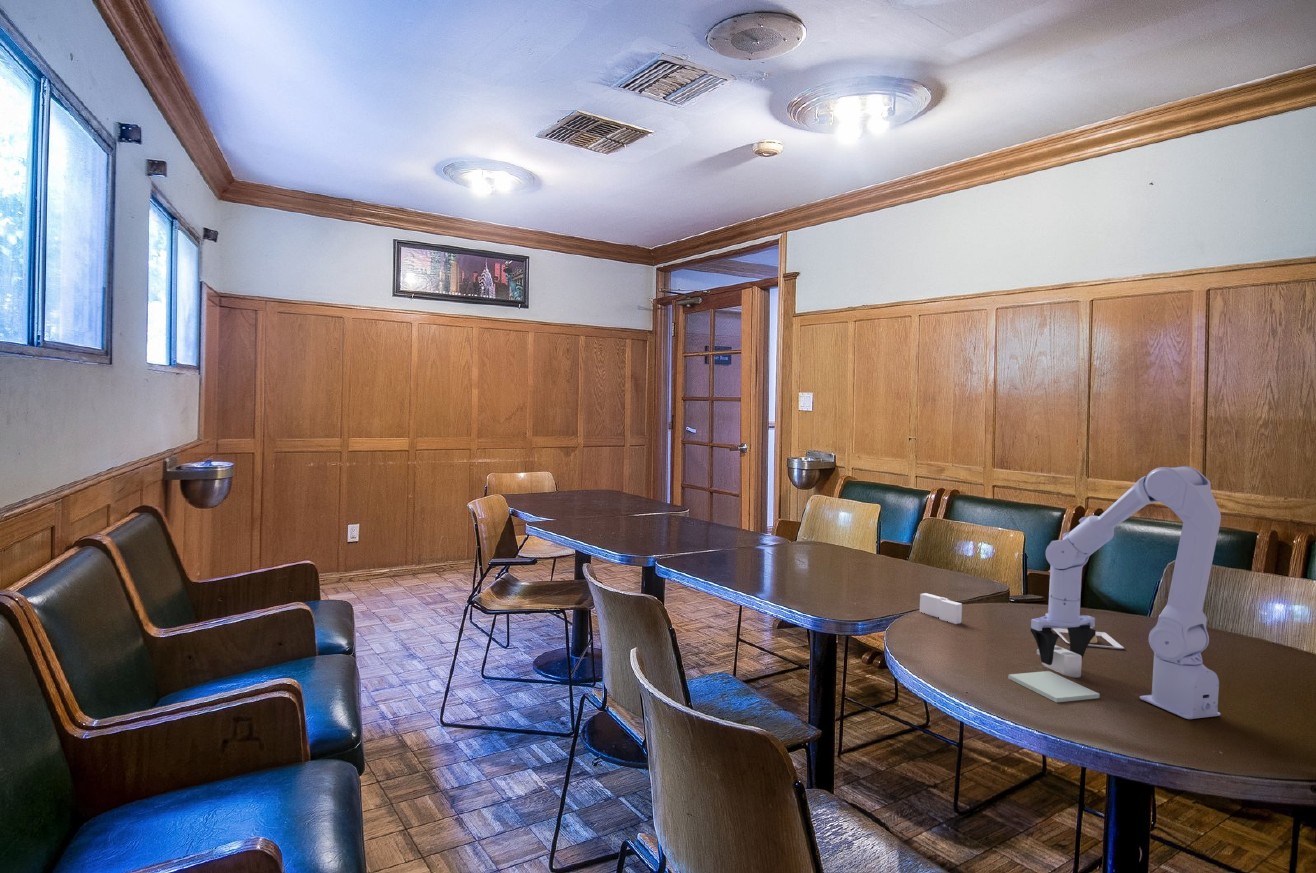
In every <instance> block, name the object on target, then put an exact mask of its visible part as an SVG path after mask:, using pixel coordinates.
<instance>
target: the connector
mask: <svg viewBox="0 0 1316 873" xmlns="http://www.w3.org/2000/svg"><path fill="white" fill-rule="evenodd" d="M1036 655H1037V656H1040V652H1039V649H1038V648H1037V649H1036ZM1082 660H1083V658H1082V656H1081V655H1079V654H1076V653H1074V652H1071V651H1070V649H1067V648H1064V647H1061V646H1059V645H1056V644H1055V648H1054V654H1053V662H1052V665H1047V664H1045V663H1043V662H1041V665H1042V666H1043V667H1045V668H1047V669H1050V670H1052V671H1054V672H1056V673H1057V674H1058V673H1059V674H1061V675H1063V676H1066V677H1068V678H1069V677H1070V678H1081V677H1082V664H1083V663H1082Z"/></svg>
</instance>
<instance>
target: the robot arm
mask: <svg viewBox="0 0 1316 873" xmlns="http://www.w3.org/2000/svg"><path fill="white" fill-rule="evenodd" d="M1211 483H1212V482H1211V481H1210V480H1209V479H1208V478H1207V477H1206V476H1205V475H1204V474H1202V473H1201V472H1200V471H1199V470H1198V469H1196V468H1194V467H1191V466H1185V465H1184V466H1183V465H1182V466H1177V467H1167V466H1165V467H1164V466H1162V467H1156V468H1155V469H1152V470H1150V472H1149V473H1148V474H1147V476H1146V475H1145V476H1143V477H1141V478H1140V479H1138V480H1137V481H1136V482H1134V485H1132V486H1131V487H1130V488H1129V489H1128V490H1126V492H1125V493H1123V494H1122V495H1121V496H1120V497H1119V498H1118V499H1117V500H1116V501H1115V502H1114V503H1112V504H1111V505H1110V506H1109V507H1108V508H1107V509H1106V510H1105V511H1104V512H1103V513H1101V514H1100V515H1099V516H1098V515H1089V516H1083V517H1081V518H1080V519H1079V520H1078V522H1079V524H1078V525H1076V526H1075V527H1074V528H1073V529H1072V530H1070V531H1069V532H1064V533H1063V534H1062V535H1061V536H1062V540H1061V539H1060V540H1059V539H1057V540H1051V541H1050V543H1049V544H1048V545H1047V546H1046V549H1045V558H1046V560H1047V561H1046V562H1048V564H1049V565H1050V569H1049V570H1050V571H1049V572H1050V573H1049V585H1048V586H1049V587H1048V588H1049V591H1048V609H1047V612H1046V613H1045V615H1043V616H1041V617H1037V618H1031V621H1030V622H1031V623H1030V624H1031V625H1030V632H1031V634H1032V635H1033V637H1034V640H1035V642H1036V645H1037V647H1038V648H1037V649H1039V652H1040V655H1039V656H1040V661H1041V663H1042V662H1043V663H1045V664H1047V665H1052V662H1053V654H1054V648H1055V645H1056V644H1057V641H1058V640H1059V637H1060V636H1059V635H1058V634H1057V633H1056V632H1055V633H1054V632H1053V631H1054V630H1053V629H1056V628H1061V629H1068V633H1067V634H1068V637H1069V643H1070V644H1069V651H1071V652H1074V653H1076V654H1079V655H1081V656H1082V659H1083V658H1084V655H1085V652H1086V651H1087V647H1089V646H1088V644H1090V643H1089V642H1090V641H1091V639H1092V638H1093V637H1094V636H1095V635H1096V632H1097V630H1096V629H1095V627H1096V626H1095V625H1096V618H1095V617H1093V616H1091V615H1081V614H1080V613H1081V594H1082V593H1081V592H1082V579H1083V578H1082V576H1083V567H1084V566H1085V565H1086V564H1087V563H1088V561H1089V558H1090V556H1091V555H1093V554H1094V553H1095V552H1097V550H1099V549H1100V548H1101V547H1103V546H1104V545H1105V544H1107V543H1108V542H1110V541H1111V540H1112V539H1113V538H1114V536H1115V528H1116V527H1117V526H1119V525H1121V524H1122V523H1123V522H1124V521H1126V520H1127V519H1129V518H1131V517H1132V516H1133V515H1134V514H1136V513H1137V512H1139V511H1140V510H1141V509H1143V508H1144V507H1145V506H1147V505H1150V504H1154V503H1155V504H1156V503H1160V504H1162V505H1163V506H1166V507H1167V508H1168V509H1170V510H1172V512H1173V513H1174V514H1175V515H1176V516H1177V517H1178V518H1179V519H1180V520H1181V521H1182V526H1181V532H1180V537H1179V541H1178V547H1177V553H1176V557H1175V562H1174V566H1173V567H1174V568H1173V572H1172V576H1171V582H1170V587H1169V591H1168V592H1169V593H1168V598H1167V603H1166V605H1165V607H1164V608H1163V609H1162V611H1160V612H1161V613H1160V614H1159V615H1158V617H1157V618H1158V619H1157V623H1156V624H1155V626H1154V627H1153V628H1152V629H1151V630H1150V631H1149V634H1148V644H1149V646H1150V648H1151V650H1152V651H1153V665H1152V666H1153V668H1152V686H1151V687H1152V688H1151V694H1147V695H1140V696H1139V699H1140V700H1142V701H1144V702H1147V703H1149V704H1152V705H1153V706H1156V707H1158V708H1161V709H1163V710H1165V711H1167V712H1169V713H1172V714H1174V715H1177V716H1179V717H1181V718H1183V719H1187V720H1193V719H1194V720H1195V719H1201V718H1202V719H1203V718H1209V717H1210V718H1213V717H1220V716H1221V712H1219V710H1218V708H1219V707H1218V705H1219V692H1220V690H1219V689H1220V680H1219V677H1218V674H1217V673H1216V672H1215V671H1213V670H1212V669H1209V668H1208V667H1206V665H1204V663H1203V657H1202V654H1201V653H1202V652H1203V651H1205V650H1206V649H1207V647H1208V645H1209V642H1210V638H1209V633H1208V630H1207V621H1208V618H1207V616H1206V614H1205V613H1204V610H1203V608H1204V604H1205V600H1206V596H1207V589H1208V584H1209V580H1210V575H1211V570H1212V565H1213V560H1214V556H1215V551H1216V545H1217V541H1218V536H1219V531H1220V527H1221V526H1220V525H1221V521H1222V515H1221V514H1222V513H1221V511H1220V509H1219V506H1218V504H1217V501H1216V500H1215V499H1216V498H1215V496H1214V495H1213V492H1212V488H1211V487H1212V486H1211ZM1090 627H1093V629H1091V628H1090ZM1096 636H1097V635H1096Z"/></svg>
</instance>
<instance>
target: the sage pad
mask: <svg viewBox="0 0 1316 873" xmlns="http://www.w3.org/2000/svg"><path fill="white" fill-rule="evenodd" d="M1007 678H1008V679H1009V680H1010V681H1013V682H1014V683H1017V684H1019V685H1020V686H1023V687H1024V688H1027V689H1029V690H1031V691H1033V692H1034V693H1037V694H1038V695H1040V696H1043V697H1044V698H1047V699H1049V700H1051V701H1053V702H1055V703H1066V702H1075V701H1084V700H1094V699H1100V697H1101V696H1100V695H1101V694H1100V693H1099V692H1096V691H1094V690H1092V689H1090V688H1087V687H1086V686H1083V685H1081V684H1078V683H1076V682H1075V681H1072V680H1070V679H1068V678H1066V677H1064V676H1061V675H1059V674H1058V673H1054V672H1052V671H1050V670H1046V671H1034V672H1024V673H1023V672H1021V673H1010V674H1008V677H1007Z"/></svg>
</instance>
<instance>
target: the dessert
mask: <svg viewBox="0 0 1316 873" xmlns="http://www.w3.org/2000/svg"><path fill="white" fill-rule="evenodd" d="M1090 628H1091V629H1094V627H1090ZM1052 631H1054V632H1055V634H1058V635H1059V637H1060V638H1061V639H1062V640H1063V641H1064V642H1065V643H1066V644H1068V645H1070V641H1068V640H1067V638H1065V636H1064V635H1062V633H1064V634H1065V633H1067V634H1069V633H1068V629H1067V628H1056V629H1052ZM1097 637H1102V638H1103V639H1104V640H1106V641H1107V642H1108V643H1109V644H1111V645H1112V646H1110V645H1102V644H1101V645H1099V644H1097V643H1098V638H1097ZM1095 643H1096V644H1095ZM1087 647H1091V648H1092V647H1093V648H1104V649H1113V650H1123V649H1125V647H1124V646H1123V645H1121V644H1120V643H1119V642H1118V641H1116V640H1115V639H1114V638H1113V637H1112V636H1110V635H1109V633H1107V632H1104V631H1103V632H1102V631H1096V635H1095V636H1094V637H1093V638H1092V639H1091V641H1090V642H1089V644H1088V646H1087Z"/></svg>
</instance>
